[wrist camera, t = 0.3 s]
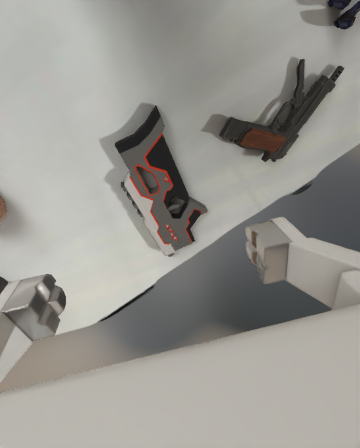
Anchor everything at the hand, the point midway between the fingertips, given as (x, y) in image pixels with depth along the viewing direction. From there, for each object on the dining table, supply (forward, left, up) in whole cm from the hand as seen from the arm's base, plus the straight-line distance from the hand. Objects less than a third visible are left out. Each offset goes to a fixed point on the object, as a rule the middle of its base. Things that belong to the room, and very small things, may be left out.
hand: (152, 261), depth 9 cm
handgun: (+6, +27, -39) cm, 48 cm away
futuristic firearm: (+19, +1, -39) cm, 44 cm away
